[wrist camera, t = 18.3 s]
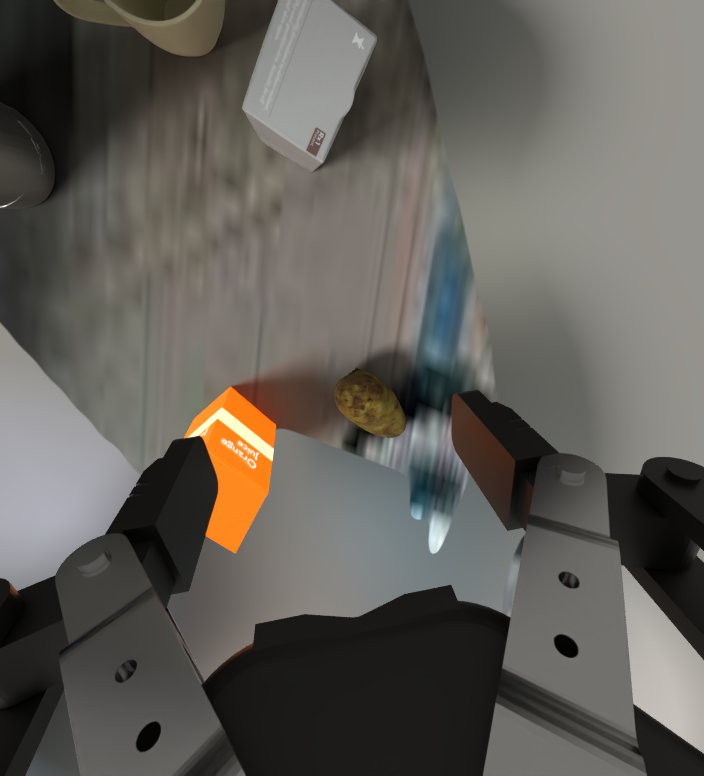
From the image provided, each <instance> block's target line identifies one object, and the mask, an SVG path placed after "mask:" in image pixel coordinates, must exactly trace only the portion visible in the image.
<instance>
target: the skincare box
mask: <svg viewBox="0 0 704 776" xmlns="http://www.w3.org/2000/svg"><path fill="white" fill-rule="evenodd" d="M376 42H377V36H376V35H375V34H374V33H373V32H372V31H371V30H369V29H368V28H367V27H366V26H364V25H363V24H362V23H361V22H359V21H358V20H357V19H356V18H354V17H353V16H352V15H351V14H349V13H348V12H347V11H346V10H344V9H343V8H342V7H341V6H339V5H338V4H337V3H336V2H334V1H333V0H278V2H277V5H276V8H275V11H274V14H273V17H272V19H271V22H270V25H269V28H268V31H267V33H266V36H265V39H264V42H263V45H262V48H261V51H260V54H259V57H258V60H257V63H256V66H255V69H254V72H253V74H252V77H251V80H250V83H249V87H248V90H247V93H246V96H245V99H244V102H243V106H242V109H243V110H244V112H245V114H246V116H247V118H248V119H249V121H250V123H251V125H252V126H253V128H254V130H255V132H256V134H257V135H258V137H259V139H260V141H262V142H263V143H265V144H266V145H268V146H269V147H271V148H272V149H274V150H276V151H277V152H279V153H280V154H282V155H284V156H285V157H287V158H289V159H290V160H292V161H294V162H295V163H297V164H299V165H300V166H302V167H304V168H305V169H307V170H309V171H310V172H312V173H313V171H314V170H315V169H317V168H318V167H319V166H320V165H321V164H323V163H324V161H325V159H326V157H327V155H328V153H329V151H330V148H331V146H332V144H333V142H334V140H335V137H336V135H337V133H338V131H339V128H340V126H341V124H342V122H343V119H344V117H345V115H346V114H347V112H348V111H349V110H350V108H351V106H352V103H353V100H354V93H355V91H356V89H357V86H358V84H359V82H360V79H361V77H362V75H363V73H364V70H365V68H366V66H367V63H368V61H369V59H370V57H371V54H372V52H373V50H374V47H375V45H376Z"/></svg>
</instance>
